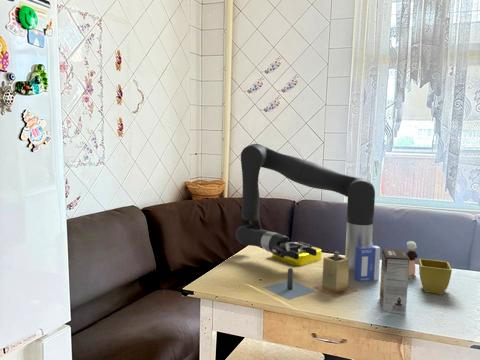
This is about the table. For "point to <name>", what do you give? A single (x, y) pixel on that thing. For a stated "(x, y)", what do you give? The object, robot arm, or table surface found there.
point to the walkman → (367, 263)
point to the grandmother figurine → (412, 258)
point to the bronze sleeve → (335, 274)
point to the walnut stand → (350, 290)
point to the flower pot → (434, 275)
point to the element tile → (300, 258)
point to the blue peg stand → (290, 288)
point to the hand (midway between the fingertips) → (307, 254)
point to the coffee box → (394, 280)
